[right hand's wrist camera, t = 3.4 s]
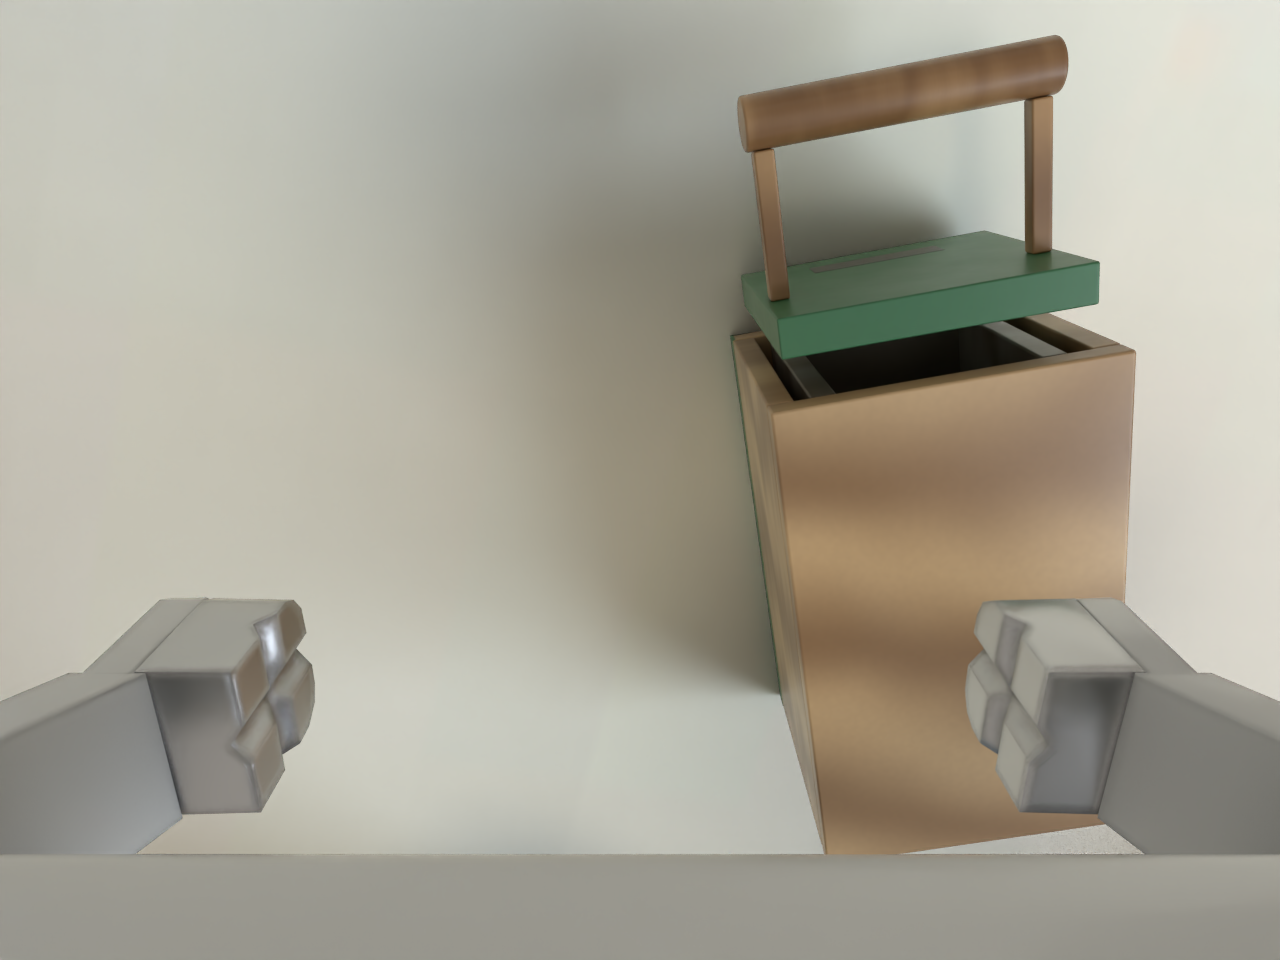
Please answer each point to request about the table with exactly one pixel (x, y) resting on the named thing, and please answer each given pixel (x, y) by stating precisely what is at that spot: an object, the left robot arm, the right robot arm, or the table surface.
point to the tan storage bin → (927, 567)
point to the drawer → (921, 272)
